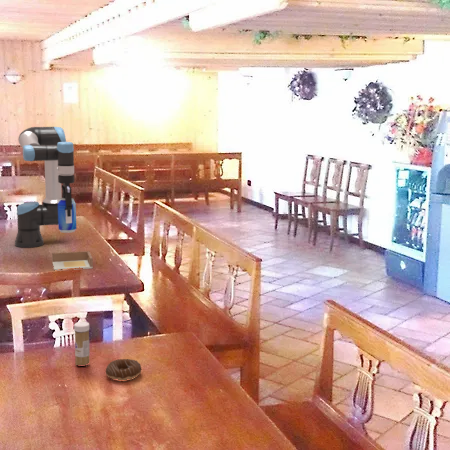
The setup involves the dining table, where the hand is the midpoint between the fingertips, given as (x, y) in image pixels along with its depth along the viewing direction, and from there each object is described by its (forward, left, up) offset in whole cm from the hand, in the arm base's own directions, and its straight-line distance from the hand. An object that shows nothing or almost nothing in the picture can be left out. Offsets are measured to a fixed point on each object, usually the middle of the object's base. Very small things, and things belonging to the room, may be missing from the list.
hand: (67, 221), depth 312 cm
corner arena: (0, +2, -22) cm, 22 cm away
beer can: (0, 0, -5) cm, 5 cm away
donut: (+133, +6, -22) cm, 135 cm away
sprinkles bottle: (+122, -5, -22) cm, 124 cm away
